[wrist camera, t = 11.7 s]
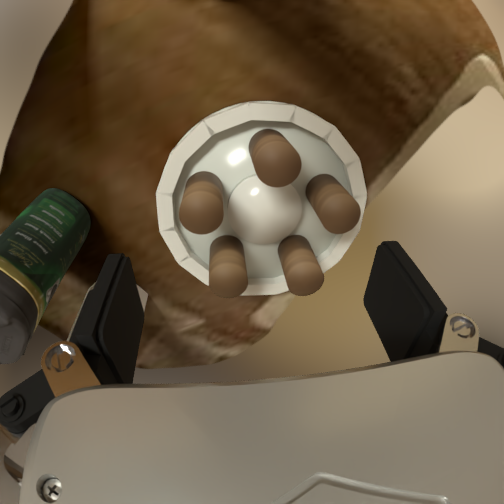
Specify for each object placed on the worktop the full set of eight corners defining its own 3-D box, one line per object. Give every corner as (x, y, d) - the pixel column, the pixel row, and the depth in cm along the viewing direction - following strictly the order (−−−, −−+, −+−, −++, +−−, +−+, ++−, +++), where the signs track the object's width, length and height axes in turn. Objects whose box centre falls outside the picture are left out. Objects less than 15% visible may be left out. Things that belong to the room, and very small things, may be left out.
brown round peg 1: (279, 234, 36) (289, 265, 31) (312, 234, 36) (327, 265, 31) (276, 263, 38) (285, 296, 33) (307, 262, 38) (320, 295, 33)
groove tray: (154, 101, 28) (150, 103, 26) (372, 111, 30) (381, 115, 28) (168, 285, 39) (166, 296, 37) (339, 281, 42) (345, 292, 40)
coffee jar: (48, 174, 30) (-52, 272, 14) (102, 212, 33) (31, 333, 18) (23, 234, 33) (-53, 338, 18) (70, 267, 36) (13, 384, 21)
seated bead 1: (209, 235, 35) (208, 267, 30) (244, 234, 35) (248, 266, 30) (210, 264, 37) (209, 298, 32) (243, 263, 37) (247, 297, 32)
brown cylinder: (184, 171, 31) (177, 194, 26) (223, 170, 31) (223, 193, 26) (186, 206, 33) (180, 234, 28) (222, 205, 33) (223, 234, 28)
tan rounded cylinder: (249, 128, 29) (256, 142, 24) (288, 129, 29) (303, 144, 24) (247, 165, 31) (253, 187, 26) (285, 166, 31) (299, 188, 26)
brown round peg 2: (307, 172, 32) (324, 195, 27) (342, 174, 32) (364, 197, 27) (303, 206, 34) (318, 234, 29) (336, 207, 34) (356, 234, 29)
